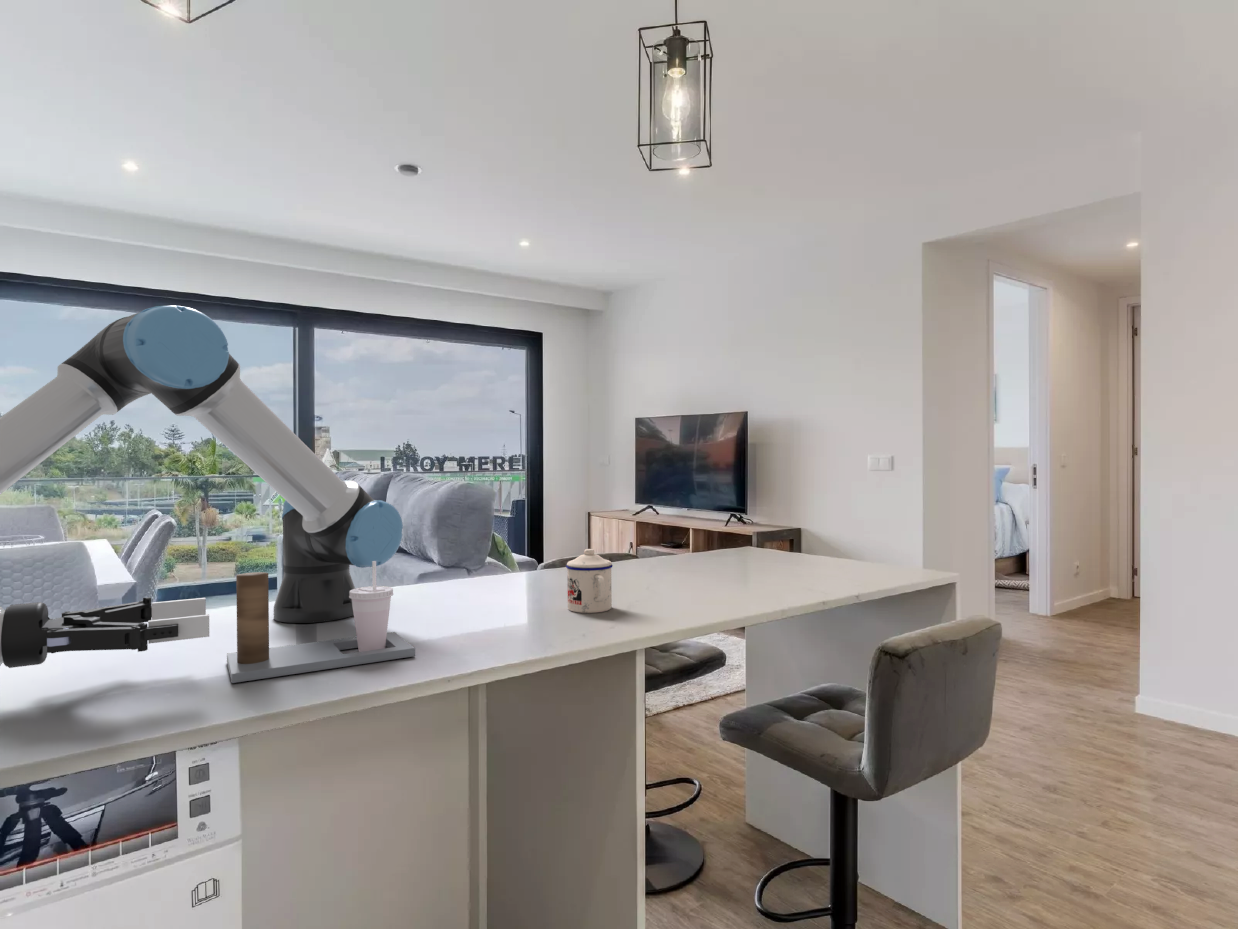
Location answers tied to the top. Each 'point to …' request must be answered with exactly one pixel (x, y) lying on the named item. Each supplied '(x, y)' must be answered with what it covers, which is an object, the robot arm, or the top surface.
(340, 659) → the cup holder tray
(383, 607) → the smoothie
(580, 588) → the teacup with lid
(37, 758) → the top surface
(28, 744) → the top surface
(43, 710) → the top surface
